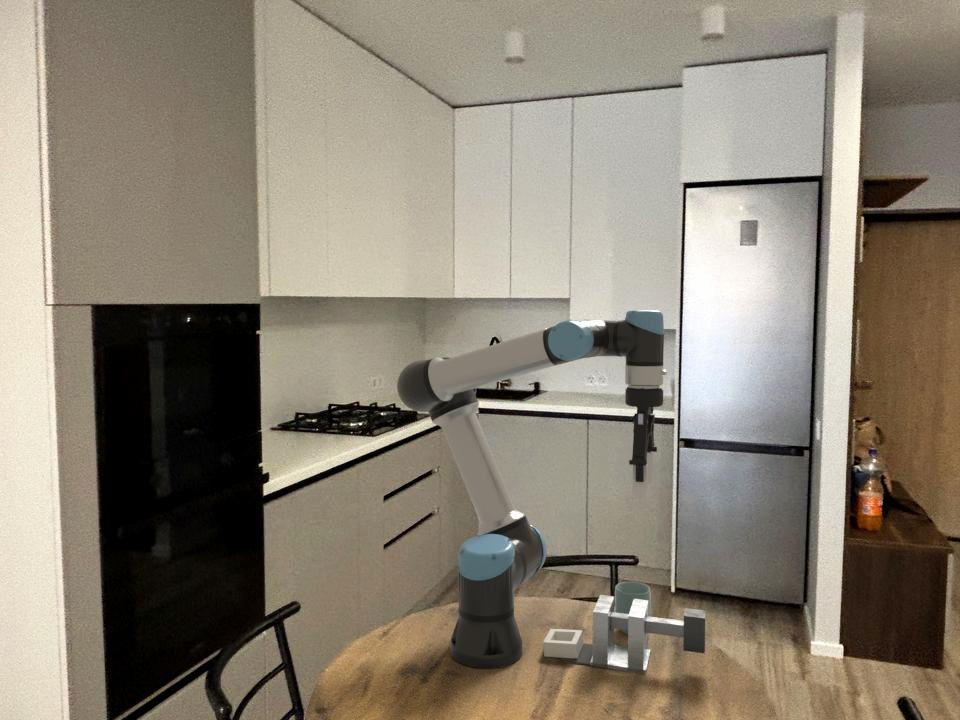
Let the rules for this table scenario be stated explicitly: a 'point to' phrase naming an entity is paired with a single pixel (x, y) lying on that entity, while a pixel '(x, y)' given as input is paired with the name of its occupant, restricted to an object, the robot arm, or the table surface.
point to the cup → (630, 597)
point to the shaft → (672, 627)
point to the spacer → (563, 643)
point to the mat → (582, 655)
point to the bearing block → (603, 638)
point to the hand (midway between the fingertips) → (643, 490)
